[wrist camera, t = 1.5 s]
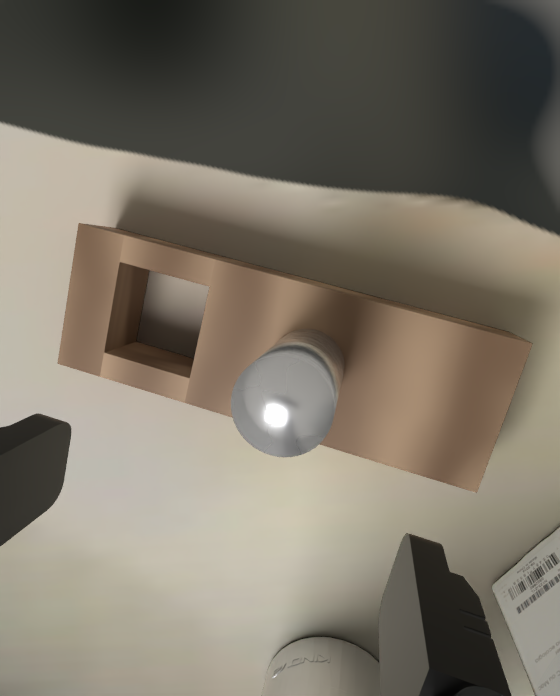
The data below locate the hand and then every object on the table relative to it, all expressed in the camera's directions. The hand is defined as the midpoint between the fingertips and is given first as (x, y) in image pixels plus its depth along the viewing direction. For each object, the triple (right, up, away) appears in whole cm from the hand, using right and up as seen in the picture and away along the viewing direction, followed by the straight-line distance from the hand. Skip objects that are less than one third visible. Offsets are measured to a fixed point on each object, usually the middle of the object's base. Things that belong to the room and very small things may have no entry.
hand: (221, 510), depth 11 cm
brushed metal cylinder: (+3, +3, +15) cm, 16 cm away
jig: (+2, +4, +19) cm, 20 cm away
